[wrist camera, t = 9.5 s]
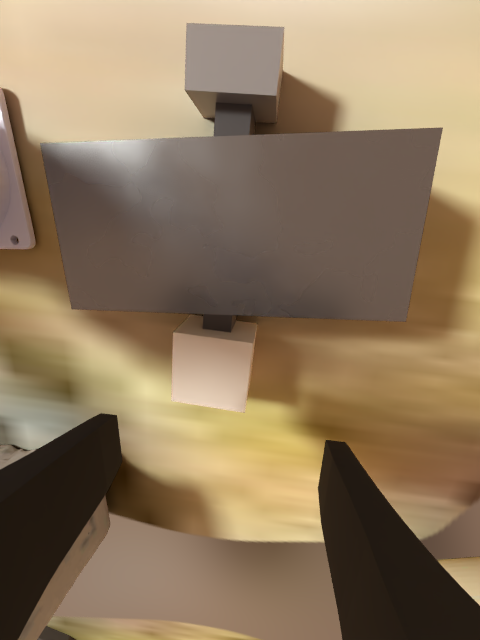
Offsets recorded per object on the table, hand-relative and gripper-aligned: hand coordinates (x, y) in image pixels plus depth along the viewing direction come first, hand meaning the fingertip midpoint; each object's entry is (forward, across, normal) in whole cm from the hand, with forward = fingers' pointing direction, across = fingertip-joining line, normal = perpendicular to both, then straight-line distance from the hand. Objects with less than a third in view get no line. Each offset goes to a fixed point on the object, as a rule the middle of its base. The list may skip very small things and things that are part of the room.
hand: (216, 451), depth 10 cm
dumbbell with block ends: (+8, +1, -6) cm, 10 cm away
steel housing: (+8, 0, -7) cm, 11 cm away
